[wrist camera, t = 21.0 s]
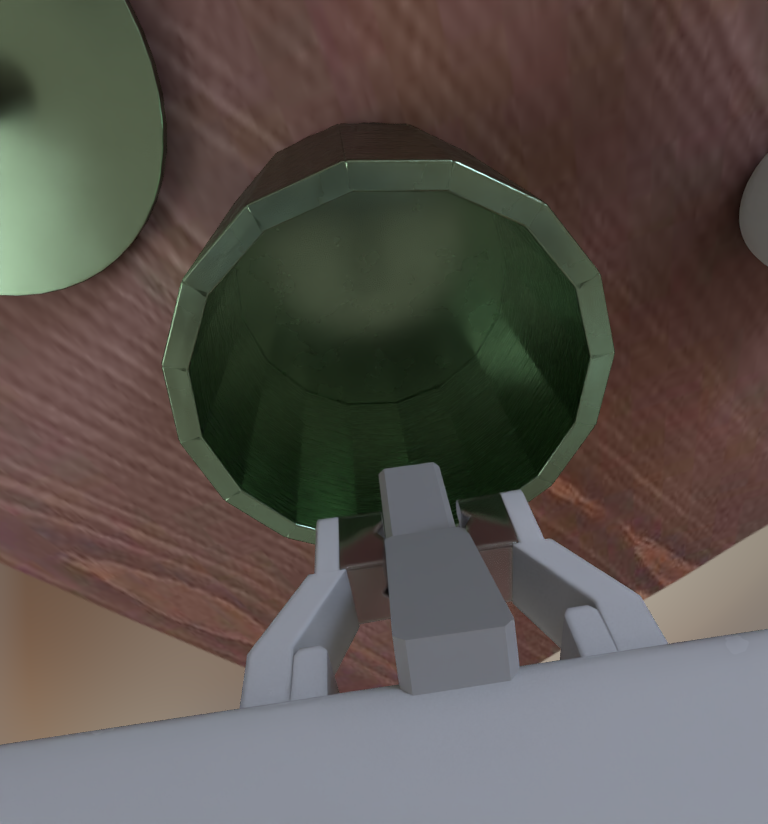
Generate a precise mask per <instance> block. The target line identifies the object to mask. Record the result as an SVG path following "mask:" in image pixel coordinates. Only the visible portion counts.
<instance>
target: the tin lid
mask: <svg viewBox="0 0 768 824" xmlns="http://www.w3.org/2000/svg"><path fill="white" fill-rule="evenodd" d="M166 153H167V123H166V115H165V108H164V100H163V93H162V89H161V85H160V81H159V77H158V73H157V69H156V64H155V61H154V58H153V56H152V53H151V50H150V47H149V45H148V42H147V39H146V36H145V34H144V31H143V29H142V27H141V25H140V22H139V20H138V18H137V16H136V14H135V12H134V10H133V8H132V6H131V4H130V2H129V0H0V295H5V296H24V295H35V294H44V293H48V292H53V291H57V290H62V289H65V288H68V287H70V286H73V285H76V284H78V283H81V282H84V281H86V280H87V279H89V278H91V277H93V276H94V275H96V274H98V273H100V272H101V271H103V270H104V269H105V268H107V267H108V266H109V265H110V264H112V263H113V262H114V261H115V260H117V259H118V258H119V257H120V256H121V255H122V254H123V253H124V252H125V251H126V250H127V249H128V248H129V247H130V245H131V244H132V243H133V242H134V241H135V240H136V239H137V237H138V236H139V234H140V233H141V231H142V229H143V228H144V226H145V225H146V223H147V222H148V220H149V218H150V215H151V213H152V211H153V209H154V206H155V204H156V202H157V199H158V195H159V192H160V188H161V184H162V181H163V177H164V169H165V161H166Z"/></svg>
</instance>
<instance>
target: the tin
mask: <svg viewBox="0 0 768 824" xmlns="http://www.w3.org/2000/svg"><path fill="white" fill-rule="evenodd" d="M614 352H615V350H614V344H613V339H612V334H611V328H610V323H609V317H608V312H607V306H606V301H605V296H604V290H603V285H602V279H601V274H600V273H599V271H598V269H597V268H596V267H595V266H594V264H593V263H592V262H591V260H590V259H589V258H588V257H587V255H586V254H585V253H584V251H583V250H582V249H581V248H580V246H579V245H578V244H577V242H576V241H575V240H574V238H573V237H572V236H571V235H570V233H569V232H568V231H567V229H566V228H565V227H564V226H563V224H562V223H561V222H560V220H559V219H558V218H557V217H556V215H555V214H554V213H553V211H552V210H551V209H550V208H549V206H548V205H547V204H546V203H544V202H543V201H542V200H541V199H539V198H537V197H536V196H534V195H533V194H531V193H530V192H528V191H527V190H525V189H523V188H522V187H520V186H519V185H517V184H516V183H514V182H513V181H511V180H509V179H508V178H506V177H505V176H503V175H502V174H500V173H499V172H497V171H496V170H494V169H492V168H491V167H489V166H488V165H486V164H485V163H483V162H482V161H480V160H478V159H477V158H475V157H474V156H472V155H471V154H469V153H468V152H466V151H464V150H462V149H460V148H458V147H455V146H453V145H451V144H449V143H447V142H445V141H443V140H441V139H439V138H437V137H435V136H433V135H430V134H428V133H426V132H424V131H422V130H420V129H418V128H416V127H414V126H412V125H407V124H386V123H373V122H372V123H358V124H336V125H334V126H332V127H330V128H328V129H326V130H324V131H321V132H319V133H316V134H314V135H311V136H308V137H306V138H305V139H303V140H301V141H299V142H297V143H296V144H294V145H292V146H289V147H287V148H285V149H283V150H281V151H279V152H277V153H276V154H275V155H274V156H273V157H272V158H271V160H270V161H269V162H268V163H267V164H266V166H265V167H264V168H263V169H262V170H261V172H260V173H259V174H258V175H257V176H256V177H255V178H254V180H253V181H252V182H251V184H250V185H249V186H248V187H247V188H246V190H245V191H244V192H243V193H242V194H241V196H240V197H239V198H238V199H237V200H236V202H235V203H234V204H233V206H232V207H231V209H230V210H229V212H228V213H227V214H226V216H225V217H224V219H223V220H222V222H221V223H220V225H219V226H218V228H217V229H216V231H215V232H214V234H213V235H212V237H211V238H210V240H209V241H208V242H207V244H206V245H205V247H204V248H203V250H202V251H201V253H200V254H199V256H198V257H197V259H196V260H195V262H194V263H193V265H192V266H191V268H190V269H189V270H188V272H187V273H186V275H185V276H184V278H183V280H182V282H181V284H180V289H179V293H178V297H177V301H176V305H175V309H174V314H173V318H172V322H171V326H170V330H169V334H168V338H167V343H166V347H165V351H164V355H163V359H162V370H163V375H164V379H165V383H166V388H167V392H168V396H169V400H170V405H171V409H172V413H173V418H174V422H175V426H176V430H177V435H178V439H179V441H180V444H181V445H182V446H183V448H184V449H185V450H186V451H187V453H188V454H189V455H190V457H191V458H192V459H193V461H194V462H195V463H196V464H197V466H198V467H199V468H200V470H201V471H202V472H203V474H204V475H205V476H206V477H207V479H208V480H209V481H210V483H211V484H212V485H213V487H214V488H215V489H216V490H217V492H218V493H219V494H220V496H221V497H222V498H223V499H224V500H225V501H226V502H228V503H229V504H231V505H233V506H234V507H236V508H237V509H239V510H241V511H242V512H244V513H246V514H247V515H249V516H251V517H252V518H254V519H256V520H257V521H259V522H261V523H262V524H264V525H265V526H267V527H269V528H270V529H272V530H274V531H275V532H277V533H279V534H280V535H282V536H284V537H287V538H289V539H294V540H298V541H302V542H306V543H311V544H315V541H316V523H317V520H318V519H326V518H335V517H339V516H346V515H354V514H362V513H370V512H378V511H381V513H382V519H383V524H384V517H383V509H382V500H381V492H380V483H379V475H378V474H379V473H380V472H381V471H382V470H383V469H387V468H394V467H401V466H409V465H416V464H423V463H430V462H433V463H435V464H437V465H438V466H439V467H440V471H441V475H442V478H443V482H444V486H445V489H446V493H447V497H448V501H449V504H450V508H451V512H452V515H453V519H454V523H455V527H457V526H458V525H459V520H458V516H457V512H456V500H458V499H464V498H470V497H477V496H483V495H489V494H496V493H500V492H506V491H512V490H519V489H520V490H521V491H522V492H523V494H524V496H525V498H526V500H527V502H529V501H531V500H532V499H533V498H535V497H536V496H538V495H539V494H540V493H542V492H543V491H545V490H546V489H547V488H549V487H550V486H552V484H553V483H554V482H555V480H556V479H557V478H558V476H559V475H560V473H561V472H562V471H563V469H564V468H565V467H566V465H567V464H568V462H569V461H570V460H571V458H572V457H573V456H574V454H575V453H576V451H577V450H578V449H579V447H580V446H581V445H582V443H583V442H584V440H585V439H586V438H587V436H588V435H589V434H590V432H591V431H592V429H593V428H594V426H595V425H596V423H597V419H598V416H599V412H600V408H601V404H602V400H603V396H604V392H605V389H606V385H607V381H608V377H609V373H610V369H611V366H612V362H613V358H614V354H615V353H614ZM384 532H385V526H384ZM385 537H386V534H385Z"/></svg>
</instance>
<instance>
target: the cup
mask: <svg viewBox="0 0 768 824" xmlns="http://www.w3.org/2000/svg"><path fill="white" fill-rule="evenodd" d="M739 224H740V230H741V234H742V237H743V239H744V241H745V243H746V245H747V247H748V248H749V250H750V251H751V252H752V253H753V254H754V255H755V256H756V257H757V258H758V259H759V260H760V261H761V262H762V263H764V264H765V265H766V266H768V153H767V154H766V155H765V157H764V158H763V159H762V160H761V161H760V163H759V164H758V166H757V167H756V168H755V170H754V172H753V173H752V175H751V177H750V179H749V181H748V183H747V185H746V187H745V190H744V193H743V196H742V199H741V204H740V211H739Z"/></svg>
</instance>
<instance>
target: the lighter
mask: <svg viewBox="0 0 768 824" xmlns="http://www.w3.org/2000/svg"><path fill="white" fill-rule="evenodd" d="M378 475H379V483H380V492H381V500H382V509H383V517H384V526H385V534H386V539H385V551H386V564H387V576H388V588H389V601H390V613H391V625H392V637H393V644H394V651H395V658H396V665H397V672H398V679H399V686H400V689H402V690H404V691H406V692H408V693H409V694H411V695H412V696H416V695H422V694H429V693H435V692H442V691H448V690H454V689H461V688H467V687H474V686H480V685H487V684H493V683H499V682H506V681H511V680H512V679H513V677H514V676H515V675H516V673H517V672H518V671H519V670H520V668H519V659H518V650H517V641H516V632H515V623H514V617H513V615H512V614H511V612H510V610H509V608H508V606H507V604H506V602H505V600H504V598H503V596H502V595H501V593H500V591H499V589H498V587H497V585H496V583H495V581H494V579H493V578H492V576H491V574H490V572H489V570H488V568H487V566H486V564H485V562H484V561H483V559H482V557H481V555H480V553H479V551H478V549H477V547H476V545H475V544H474V542H473V540H472V538H471V536H470V534H469V532H468V533H467V531H466V529H465V528H461V527H455V523H454V519H453V515H452V512H451V508H450V504H449V501H448V497H447V493H446V489H445V486H444V482H443V478H442V475H441V471H440V467H439V466H438V465H437V464H435V463H433V462H430V463H423V464H416V465H409V466H401V467H394V468H387V469H383V470H382V471H381V472H380V473H379V474H378Z"/></svg>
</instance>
